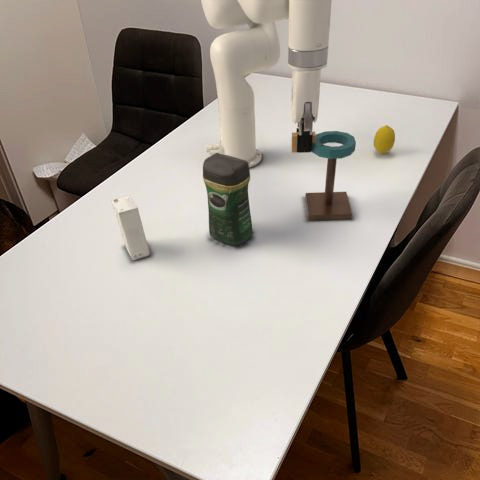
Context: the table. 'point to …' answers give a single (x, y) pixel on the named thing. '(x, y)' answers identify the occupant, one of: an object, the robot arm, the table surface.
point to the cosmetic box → (131, 227)
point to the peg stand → (328, 200)
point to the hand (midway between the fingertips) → (303, 148)
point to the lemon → (384, 139)
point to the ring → (328, 151)
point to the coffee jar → (228, 198)
